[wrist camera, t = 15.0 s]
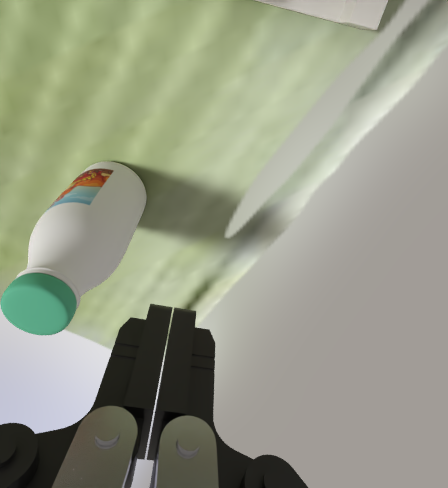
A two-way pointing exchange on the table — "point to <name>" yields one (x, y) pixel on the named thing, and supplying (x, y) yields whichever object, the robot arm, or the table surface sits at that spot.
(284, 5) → the white trough
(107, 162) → the milk bottle
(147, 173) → the table surface
